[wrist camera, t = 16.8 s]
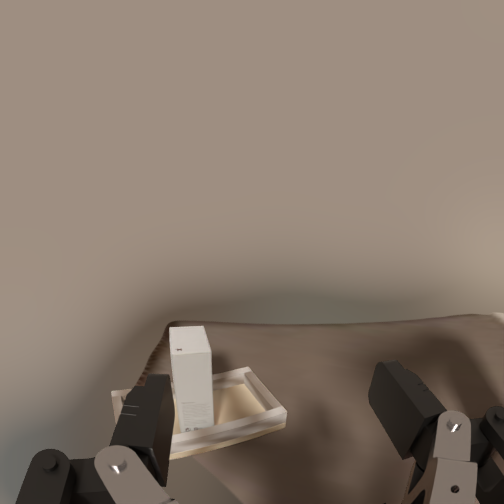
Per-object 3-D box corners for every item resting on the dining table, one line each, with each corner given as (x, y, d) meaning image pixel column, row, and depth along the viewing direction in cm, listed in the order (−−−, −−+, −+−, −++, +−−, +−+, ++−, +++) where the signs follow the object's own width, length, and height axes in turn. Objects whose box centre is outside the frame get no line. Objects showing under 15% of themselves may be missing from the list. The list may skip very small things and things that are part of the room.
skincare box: (216, 431, 32) (212, 352, 29) (180, 435, 31) (169, 355, 28) (208, 400, 38) (204, 324, 35) (176, 403, 36) (167, 326, 34)
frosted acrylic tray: (247, 382, 44) (248, 366, 43) (285, 427, 34) (287, 411, 33) (115, 407, 35) (111, 390, 34) (127, 466, 25) (121, 451, 25)
